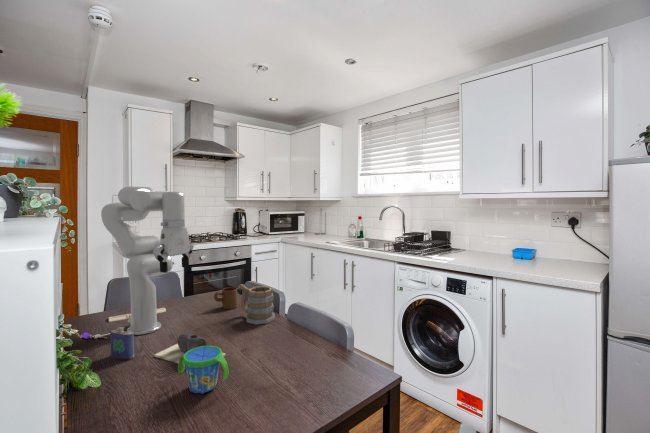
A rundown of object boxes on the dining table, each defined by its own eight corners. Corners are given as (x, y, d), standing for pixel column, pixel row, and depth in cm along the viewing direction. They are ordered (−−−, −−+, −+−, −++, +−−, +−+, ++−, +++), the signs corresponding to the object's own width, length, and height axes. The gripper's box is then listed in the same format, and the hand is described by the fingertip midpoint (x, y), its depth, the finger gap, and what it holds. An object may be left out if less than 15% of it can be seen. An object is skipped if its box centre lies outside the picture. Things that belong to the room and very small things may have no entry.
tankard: (280, 317, 152) (279, 285, 152) (261, 326, 142) (260, 292, 141) (249, 310, 163) (248, 280, 163) (229, 317, 153) (228, 286, 152)
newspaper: (164, 310, 166) (164, 306, 166) (166, 313, 160) (166, 310, 160) (108, 320, 152) (108, 316, 152) (109, 324, 147) (109, 320, 146)
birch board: (154, 356, 114) (154, 354, 114) (180, 344, 124) (180, 342, 124) (201, 370, 105) (201, 367, 105) (225, 355, 115) (225, 353, 115)
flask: (136, 357, 114) (135, 326, 114) (129, 361, 111) (127, 330, 111) (115, 353, 117) (114, 324, 116) (107, 357, 114) (106, 327, 113)
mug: (217, 312, 160) (217, 293, 159) (211, 308, 165) (210, 290, 165) (240, 307, 168) (239, 289, 167) (233, 303, 173) (233, 286, 173)
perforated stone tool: (172, 350, 118) (172, 331, 117) (186, 345, 122) (186, 326, 121) (194, 362, 108) (194, 342, 108) (209, 357, 112) (208, 337, 112)
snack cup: (237, 383, 97) (236, 349, 97) (212, 403, 88) (212, 366, 87) (195, 373, 103) (195, 341, 103) (168, 391, 93) (167, 356, 93)
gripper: (160, 226, 114) (161, 275, 114) (199, 223, 129) (200, 266, 130) (146, 226, 117) (147, 273, 118) (185, 223, 133) (186, 265, 133)
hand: (175, 269), depth 124 cm, fingers open, 9 cm apart
